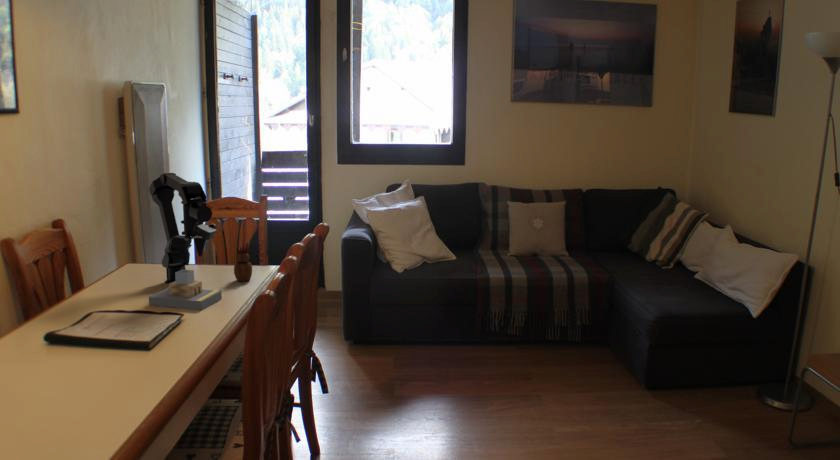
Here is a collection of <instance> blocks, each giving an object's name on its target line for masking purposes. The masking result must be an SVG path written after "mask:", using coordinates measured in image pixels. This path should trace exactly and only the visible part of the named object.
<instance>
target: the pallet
mask: <svg viewBox="0 0 840 460" xmlns="http://www.w3.org/2000/svg"><path fill="white" fill-rule="evenodd" d="M168 288H169V295H173V296H185V297H194V296H195V295H198V293H202V289H203V284H202V281H201V280H194V282H192V283H190V284H188V285H184V284H176V281H174V282H172V283H168Z"/></svg>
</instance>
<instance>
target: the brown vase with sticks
mask: <svg viewBox="0 0 840 460" xmlns="http://www.w3.org/2000/svg"><path fill="white" fill-rule="evenodd" d="M248 246H249V244H248V242H246V244H244V243H243V244H242V246H240V248H238V249H237V253H236V255H235V258H236V262H235V263H234V266H233V274H234V277H235V279H236V280H237V281H238V282H241V281H242V282H243V281H245V282H248V281H250V280H251V279H252V274H253V266H252V265H253V264H252V263H251V262H250V261H249V260H250V254H249V253H248V252H249V248H248Z"/></svg>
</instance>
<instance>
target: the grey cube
mask: <svg viewBox="0 0 840 460" xmlns="http://www.w3.org/2000/svg"><path fill="white" fill-rule="evenodd" d="M175 279H176V284H184V285H188V284H190V283H192V282H194V281H195V272H194V270H192V269H186V270H183V269H182V270H180V271H178V272H175Z"/></svg>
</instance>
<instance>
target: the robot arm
mask: <svg viewBox="0 0 840 460" xmlns="http://www.w3.org/2000/svg"><path fill="white" fill-rule="evenodd" d="M148 189H149V194H150V196H151V198H152V201H153V202H154V203H155V204H156V205H157V206H158V208H159V212H160V213H159V214H160V216H161V221H162V226H163V229H164V234H165V239H166V245H165V248H164V255H163V257H162V258H161V265H162V267H163V268H166V269H165V270H166V280H164V283H167V284H169V283H172V282H174V281H176V279H175V272H178V271H180V270H182V269H183V270H187V269H186V266H189V265H190V256H191V254H190V253H191V252H190V251H189V250H190V248H191V247H192V246H193V245H192V240H193V241H194V245H195V248H196V252H197V255H198V257H200V258H201V257H203V253H204V249H205V248H206V247H205V246H206V244H207V242H208V241H210V240H211V239H214V238H215V234H218V231H217V230H218V227H217V224H215V223H211V224H209V225H208V224H207V225H206V224H204V223H207V222H208V221H210V220H211V219H212V217H213V212H212V209H211V208H210V207H209V206H207V203H208V200H207V195H206V193H205V190H204V189H203V186H202V185H201V184H200V182H197V181H187V180H186V179H184V178H182V177H180V176H179V175H177V174H176V173H174V172H163V173H162V174H160V176H158V178H156V179H154V180H153V181H152V182H151V184H150V185H149V188H148ZM175 191H176V192H178V194H177V195H178V196H179V198H180V199H181V201H180V203H181V205H182V213H183V214H182V215H183V217H182V219H183V220H180V223H181V225H183V231H181V235H180V231H179V228H178V224H177V220H176V215H175V212H174V208H173V200H174V197H175Z"/></svg>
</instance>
